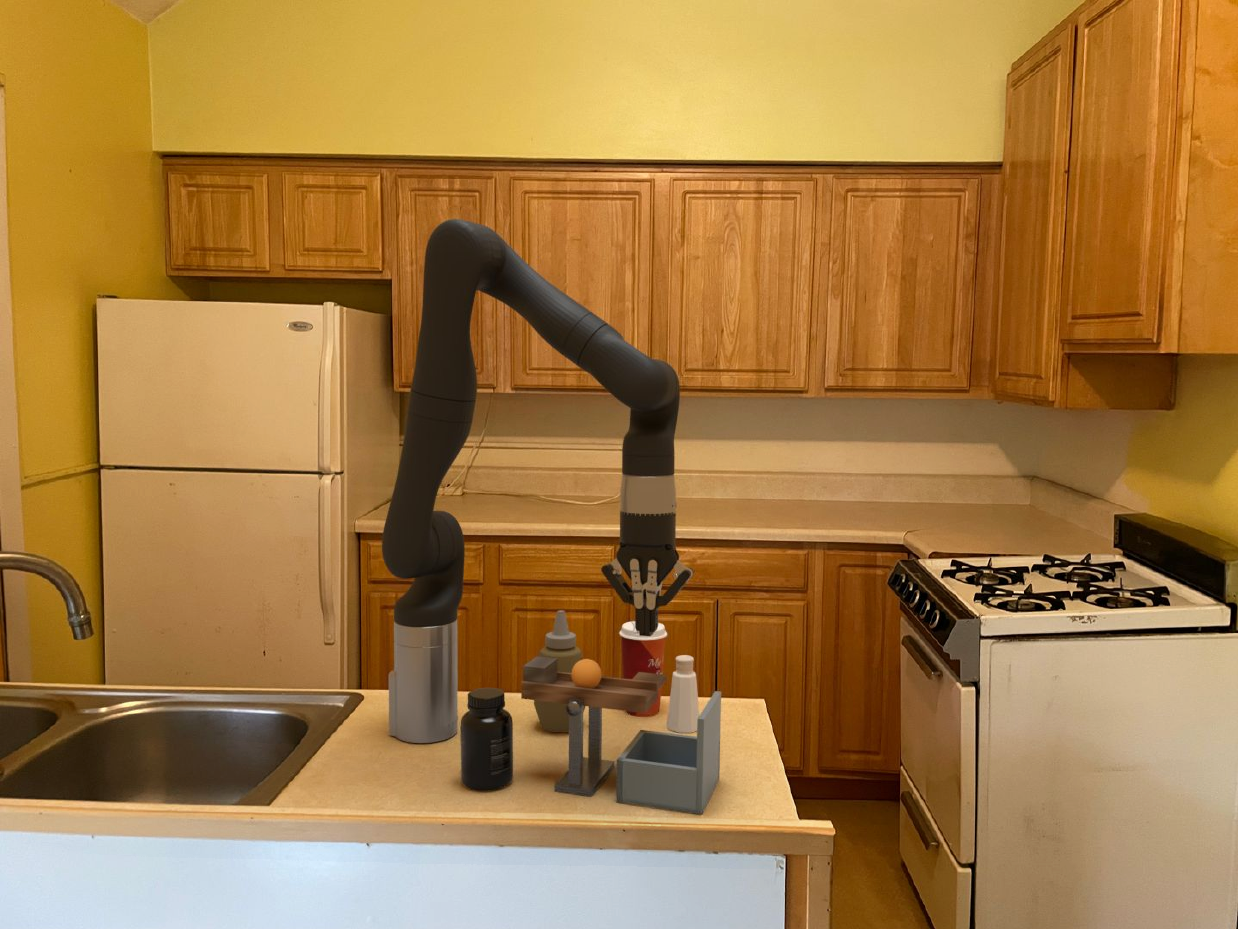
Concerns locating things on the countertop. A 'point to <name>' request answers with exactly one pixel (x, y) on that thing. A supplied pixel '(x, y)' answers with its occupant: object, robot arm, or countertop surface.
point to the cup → (673, 766)
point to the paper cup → (643, 657)
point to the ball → (586, 674)
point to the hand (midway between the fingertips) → (646, 634)
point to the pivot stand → (582, 770)
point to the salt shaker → (683, 697)
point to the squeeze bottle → (567, 656)
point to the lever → (608, 694)
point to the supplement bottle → (486, 741)
